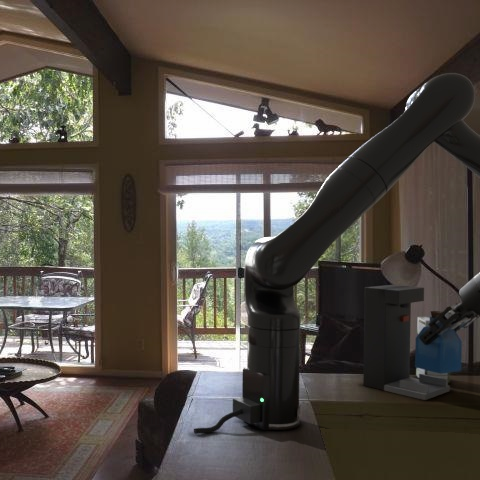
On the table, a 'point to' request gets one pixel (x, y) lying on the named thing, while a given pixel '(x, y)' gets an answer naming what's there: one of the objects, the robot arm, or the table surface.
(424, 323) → the syrup box
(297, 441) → the table surface
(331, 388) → the table surface
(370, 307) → the coffee maker
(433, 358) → the perfume bottle
